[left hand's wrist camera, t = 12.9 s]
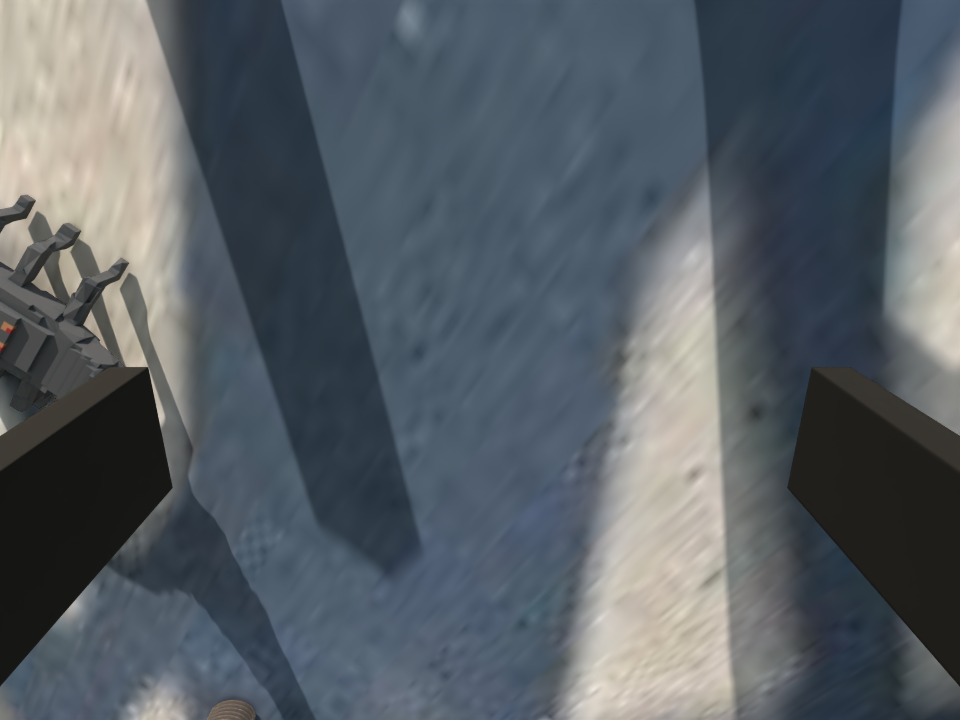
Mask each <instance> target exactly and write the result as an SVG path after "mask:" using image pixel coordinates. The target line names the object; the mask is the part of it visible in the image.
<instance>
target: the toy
mask: <svg viewBox="0 0 960 720" xmlns="http://www.w3.org/2000/svg"><path fill="white" fill-rule="evenodd" d="M35 201H36V200H34V199H33V198H31V197H30V196H28V195H22V196H20V198H19V199H18V201H17V202H16V204H15V205H14V206H13V207H10V208H5V209H0V233H1V231H2V229H3V228H4V226H5V225H7V224H9V223H11V222H13V221H17V220H21V219H26V218H27V216H28V214H29V213H30V211H31V209H32V207H33V205H34V203H35ZM80 232H81V231H80V230H79V229H78V228H76V227H75V226H73V225H72V224H70V223H65V224H63V225H62V226H61V228H60V229H59V230H58V232H57V233H56V234H55V235H54V236H53V237H51V238H49V239H47V240H43V241H40V242H36V243H34V244H32V245H30V246H29V247H27V249H26V251H25V253H24V255H23V256H22V258H21V260H20V262H19V264H18V265H17V267H16V269H15V271H14V270H12V269H11V268H9V267H8V266H6V265H5V264H3V263H1V262H0V378H1V376H2V375H3V373H4V371H5V370H6V371H7V372H9V373H11V374H13V375H14V376H16V377H18V378H19V379H21V380H22V381H21V383H20V385H19V387H18V389H17V391H16V393H15V395H14V397H13V399H12V401H11V403H10V406H12V407H13V408H15V409H17V410H18V411H20V412H23V411H25V410H26V409H28V408H29V407H30V406H32V405H34V406H36V407H37V408H39V409H40V408H41V407H43V406H45V405H46V404H47V402H48V401H49V399H50V397H51V396H52V393H53V394H55V395H56V396H57V397H56V399H57V400H58V399H60V398H61V397H63V396H65V395H66V394H68V393H69V392H71V391H72V390H74V389H76V388H77V387H79V386H80V385H82V384H84V383H85V382H87V381H88V380H90V379H92V378H93V377H95V376H96V375H98V374H99V373H101V372H103V371H104V370H106V369H107V368H109V367H124V366H123V365H122V364H121V363H120V362H119V360H118V359H117V358H116V357H115V356H113V355H112V354H111V353H110V352H109V351H108V350H107V349H106V348H104V347H103V346H102V345H101V344H100V342H99V341H100V340H99V339H98V338H97V337H96V336H95V335H94V334H93V333H92V332H91V331H89V330H88V329H87V328H86V327H85V326H83V324H84V322H85V320H86V318H87V316H88V314H89V312H90V310H91V308H92V306H93V305H94V303H95V302H96V300H97V299H98V297H99V296H100V294H101V293H102V291H103V290H104V288H105V287H106V286H107V285H108V284H110V283H113V282H115V281H117V280H119V279H120V278H121V276H122V274H123V272H124V271H125V269H126V267H127V266H128V264H129V263H128V262H127V261H125V260H124V259H122V258H120V259H119V260H118V261H117V262H116V263H115V264H114V265H113V266H111V268H110V269H109V270H108V271H106V272H103V273H101V274H98V275H95V276H93V277H90V276H88V277H85V278H83V280H82V282H81V283H80V285H79V287H78V289H77V291H76V293H72V295H71V298H70V300H69V302H68V304H67V306H66V304H64V303H63V302H61V301H60V300H58V299H57V298H55V297H54V296H53V295H51V294H50V293H48V292H47V291H41V290H40V289H39V288H37V287H36V286H35V285H34V284H33V283H31V282H32V281H33V280H34V279H35V278H36V276H37V275H38V273H39V271H40V270H41V268H42V267H43V265H44V263H45V262H46V260H47V259H48V257H49V256H50V255H51V253H52V252H54V251H58V250H63V249H67V248H69V247H71V246H72V245H74V243H75V241H76V239H77V238H78V236H79V234H80ZM51 392H52V393H51Z"/></svg>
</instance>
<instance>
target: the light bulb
mask: <svg viewBox="0 0 960 720" xmlns="http://www.w3.org/2000/svg"><path fill="white" fill-rule="evenodd" d="M255 716H256V715H255V711H254V709H253V708H252V707H251V706H250V705H249V704H247V703H245V702H242V701H238V700H227V701H223V702H220V703H218V704H217V705H215V706H214V707H213V709H212V710H211V712H210V714H209V717H208V718H207V720H255Z"/></svg>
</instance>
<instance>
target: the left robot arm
mask: <svg viewBox="0 0 960 720" xmlns="http://www.w3.org/2000/svg"><path fill="white" fill-rule="evenodd" d="M172 488H173V487H172V483H171V478H170V473H169V468H168V463H167V458H166V453H165V448H164V443H163V438H162V433H161V428H160V423H159V418H158V413H157V408H156V403H155V399H154V394H153V389H152V384H151V379H150V374H149V369H148V367H109V368H107V369H106V370H104V371H103V372H101V373H99V374H98V375H96V376H95V377H93V378H92V379H90V380H88V381H87V382H85V383H84V384H82V385H80V386H79V387H77V388H76V389H74V390H72V391H71V392H69V393H68V394H66V395H65V396H63V397H61V398H60V399H58V400H57V401H55V402H53V403H52V404H50V405H49V406H47V407H45V408H44V409H42V410H41V411H39V412H38V413H36V414H34V415H33V416H31V417H30V418H28V419H26V420H25V421H23V422H22V423H20V424H19V425H17V426H15V427H14V428H12V429H11V430H9V431H7V432H6V433H4V434H3V435H1V436H0V686H1V685H2V684H3V682H4V681H5V680H6V679H7V678H8V677H9V676H10V674H11V673H12V672H13V671H14V670H15V669H16V668H17V666H18V665H19V664H20V663H21V662H22V661H23V659H24V658H25V657H26V656H27V655H28V654H29V653H30V651H31V650H32V649H33V648H34V647H35V646H36V644H37V643H38V642H39V641H40V640H41V639H42V638H43V636H44V635H45V634H46V633H47V632H48V631H49V630H50V628H51V627H52V626H53V625H54V624H55V623H56V621H57V620H58V619H59V618H60V617H61V616H62V615H63V613H64V612H65V611H66V610H67V609H68V608H69V606H70V605H71V604H72V603H73V602H74V601H75V600H76V598H77V597H78V596H79V595H80V594H81V593H82V592H83V590H84V589H85V588H86V587H87V586H88V585H89V583H90V582H91V581H92V580H93V579H94V578H95V577H96V575H97V574H98V573H99V572H100V571H101V570H102V568H103V567H104V566H105V565H106V564H107V563H108V562H109V560H110V559H111V558H112V557H113V556H114V555H115V554H116V552H117V551H118V550H119V549H120V548H121V547H122V545H123V544H124V543H125V542H126V541H127V540H128V539H129V537H130V536H131V535H132V534H133V533H134V532H135V530H136V529H137V528H138V527H139V526H140V525H141V524H142V522H143V521H144V520H145V519H146V518H147V517H148V516H149V514H150V513H151V512H152V511H153V510H154V509H155V507H156V506H157V505H158V504H159V503H160V502H161V501H162V499H163V498H164V497H165V496H166V495H167V494H168V492H169V491H170V490H171V489H172ZM787 488H788V489H789V490H790V491H791V492H792V494H793V495H794V496H795V497H796V498H797V499H798V501H799V502H800V503H801V504H802V505H803V506H804V507H805V509H806V510H807V511H808V512H809V513H810V514H811V516H812V517H813V518H814V519H815V520H816V521H817V522H818V524H819V525H820V526H821V527H822V528H823V529H824V530H825V532H826V533H827V534H828V535H829V536H830V537H831V539H832V540H833V541H834V542H835V543H836V544H837V545H838V547H839V548H840V549H841V550H842V551H843V552H844V554H845V555H846V556H847V557H848V558H849V559H850V560H851V562H852V563H853V564H854V565H855V566H856V567H857V568H858V570H859V571H860V572H861V573H862V574H863V575H864V577H865V578H866V579H867V580H868V581H869V582H870V583H871V585H872V586H873V587H874V588H875V589H876V590H877V592H878V593H879V594H880V595H881V596H882V597H883V598H884V600H885V601H886V602H887V603H888V604H889V605H890V606H891V608H892V609H893V610H894V611H895V612H896V613H897V615H898V616H899V617H900V618H901V619H902V620H903V621H904V623H905V624H906V625H907V626H908V627H909V628H910V630H911V631H912V632H913V633H914V634H915V635H916V636H917V638H918V639H919V640H920V641H921V642H922V643H923V644H924V646H925V647H926V648H927V649H928V650H929V651H930V653H931V654H932V655H933V656H934V657H935V658H936V659H937V661H938V662H939V663H940V664H941V665H942V666H943V668H944V669H945V670H946V671H947V672H948V673H949V674H950V676H951V677H952V678H953V679H954V680H955V681H956V682H957V684H958V685H959V686H960V436H959V435H957V434H956V433H954V432H953V431H951V430H949V429H948V428H946V427H945V426H943V425H941V424H940V423H938V422H937V421H935V420H934V419H932V418H930V417H929V416H927V415H926V414H924V413H922V412H921V411H919V410H918V409H916V408H915V407H913V406H911V405H910V404H908V403H907V402H905V401H903V400H902V399H900V398H899V397H897V396H895V395H894V394H892V393H891V392H889V391H888V390H886V389H884V388H883V387H881V386H880V385H878V384H876V383H875V382H873V381H872V380H870V379H868V378H867V377H865V376H864V375H862V374H861V373H859V372H857V371H856V370H854V369H853V368H851V367H812V369H811V374H810V379H809V384H808V389H807V394H806V399H805V403H804V408H803V413H802V418H801V423H800V428H799V433H798V438H797V443H796V448H795V453H794V458H793V463H792V468H791V473H790V478H789V483H788V487H787Z"/></svg>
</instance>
